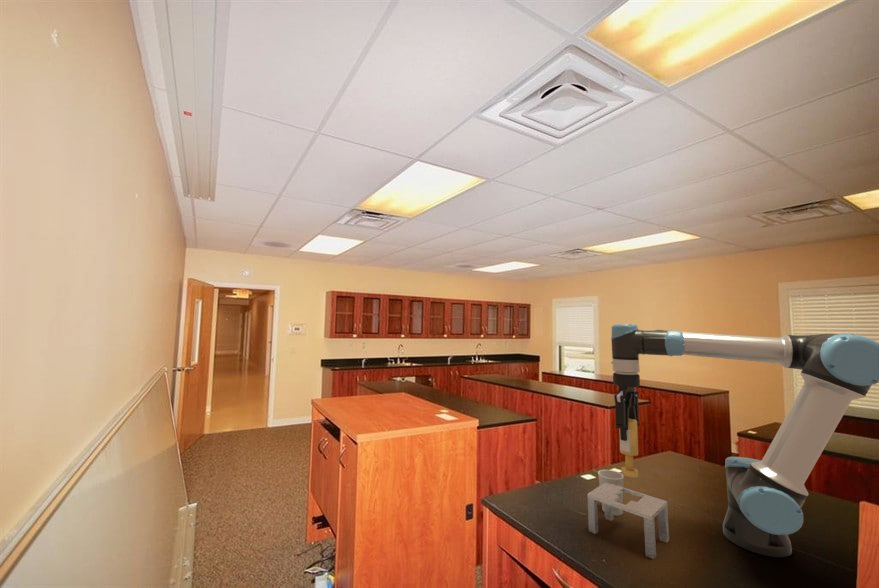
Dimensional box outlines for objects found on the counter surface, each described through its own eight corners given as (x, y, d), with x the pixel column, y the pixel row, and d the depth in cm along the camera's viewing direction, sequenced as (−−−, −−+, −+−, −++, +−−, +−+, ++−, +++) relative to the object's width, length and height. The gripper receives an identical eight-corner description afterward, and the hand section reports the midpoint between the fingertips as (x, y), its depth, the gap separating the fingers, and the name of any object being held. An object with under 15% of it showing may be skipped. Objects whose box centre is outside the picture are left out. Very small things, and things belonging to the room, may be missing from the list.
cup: (598, 513, 121) (597, 476, 122) (600, 503, 128) (598, 468, 129) (625, 519, 117) (623, 480, 118) (625, 508, 124) (623, 472, 125)
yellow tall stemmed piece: (641, 475, 110) (639, 420, 112) (635, 479, 107) (633, 422, 108) (624, 470, 114) (622, 416, 115) (618, 474, 111) (616, 419, 112)
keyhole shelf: (669, 540, 105) (666, 501, 106) (653, 559, 97) (651, 516, 98) (607, 516, 119) (605, 481, 120) (588, 531, 110) (587, 493, 111)
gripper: (624, 369, 122) (627, 439, 120) (601, 373, 110) (604, 452, 108) (648, 371, 116) (652, 445, 114) (627, 376, 104) (630, 459, 102)
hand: (628, 448), depth 111 cm, fingers closed on yellow tall stemmed piece, 5 cm apart
